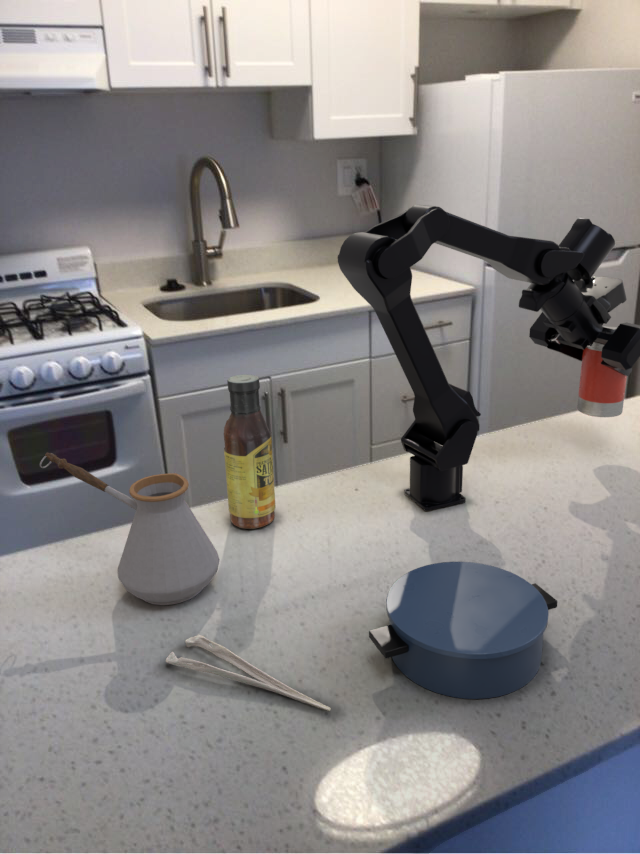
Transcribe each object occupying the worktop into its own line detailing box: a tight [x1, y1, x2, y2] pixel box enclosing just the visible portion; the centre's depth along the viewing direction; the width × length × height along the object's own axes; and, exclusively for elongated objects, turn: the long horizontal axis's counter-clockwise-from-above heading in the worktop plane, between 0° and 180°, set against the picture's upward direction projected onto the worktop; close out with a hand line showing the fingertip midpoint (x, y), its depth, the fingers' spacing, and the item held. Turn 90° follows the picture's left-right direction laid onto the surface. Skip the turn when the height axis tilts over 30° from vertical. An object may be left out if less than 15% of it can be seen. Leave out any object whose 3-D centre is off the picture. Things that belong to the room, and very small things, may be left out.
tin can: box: [576, 325, 628, 418], centre depth 115 cm, size 7×7×12 cm
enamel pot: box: [368, 561, 558, 700], centre depth 74 cm, size 19×15×5 cm
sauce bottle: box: [223, 373, 276, 530], centre depth 98 cm, size 6×6×20 cm
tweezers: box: [165, 634, 332, 712], centre depth 71 cm, size 17×5×2 cm, turn 60°
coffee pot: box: [39, 452, 220, 606], centre depth 86 cm, size 21×12×15 cm, turn 68°
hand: (610, 367), depth 115 cm, fingers closed on tin can, 7 cm apart
